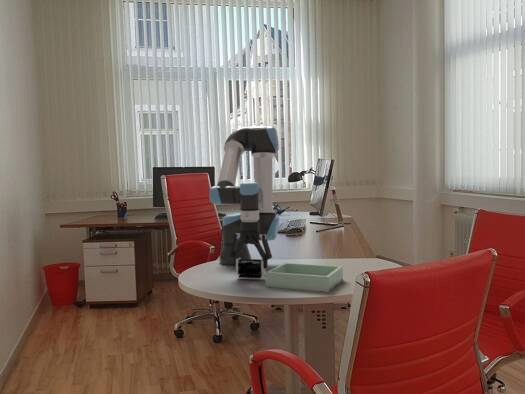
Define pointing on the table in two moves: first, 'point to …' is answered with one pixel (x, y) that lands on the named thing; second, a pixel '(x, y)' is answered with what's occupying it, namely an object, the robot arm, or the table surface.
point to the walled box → (304, 277)
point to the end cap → (249, 268)
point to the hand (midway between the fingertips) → (250, 275)
